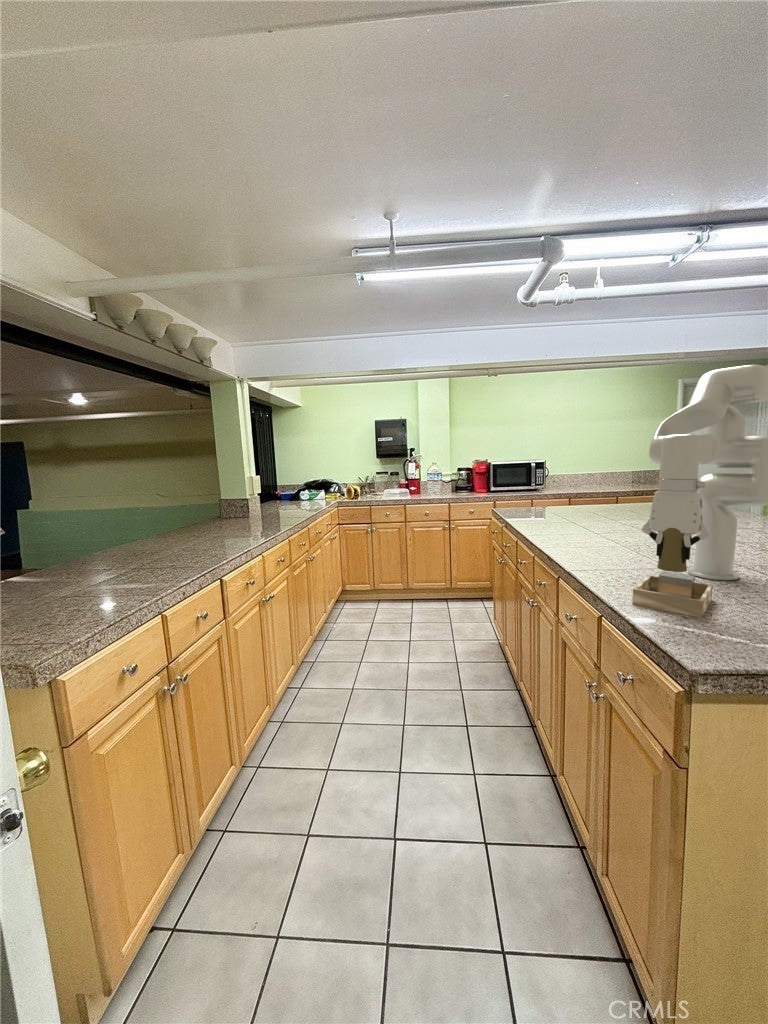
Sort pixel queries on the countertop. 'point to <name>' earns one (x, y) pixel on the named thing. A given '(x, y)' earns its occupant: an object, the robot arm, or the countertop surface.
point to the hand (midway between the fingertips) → (672, 559)
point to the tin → (676, 584)
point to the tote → (672, 598)
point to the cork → (672, 551)
